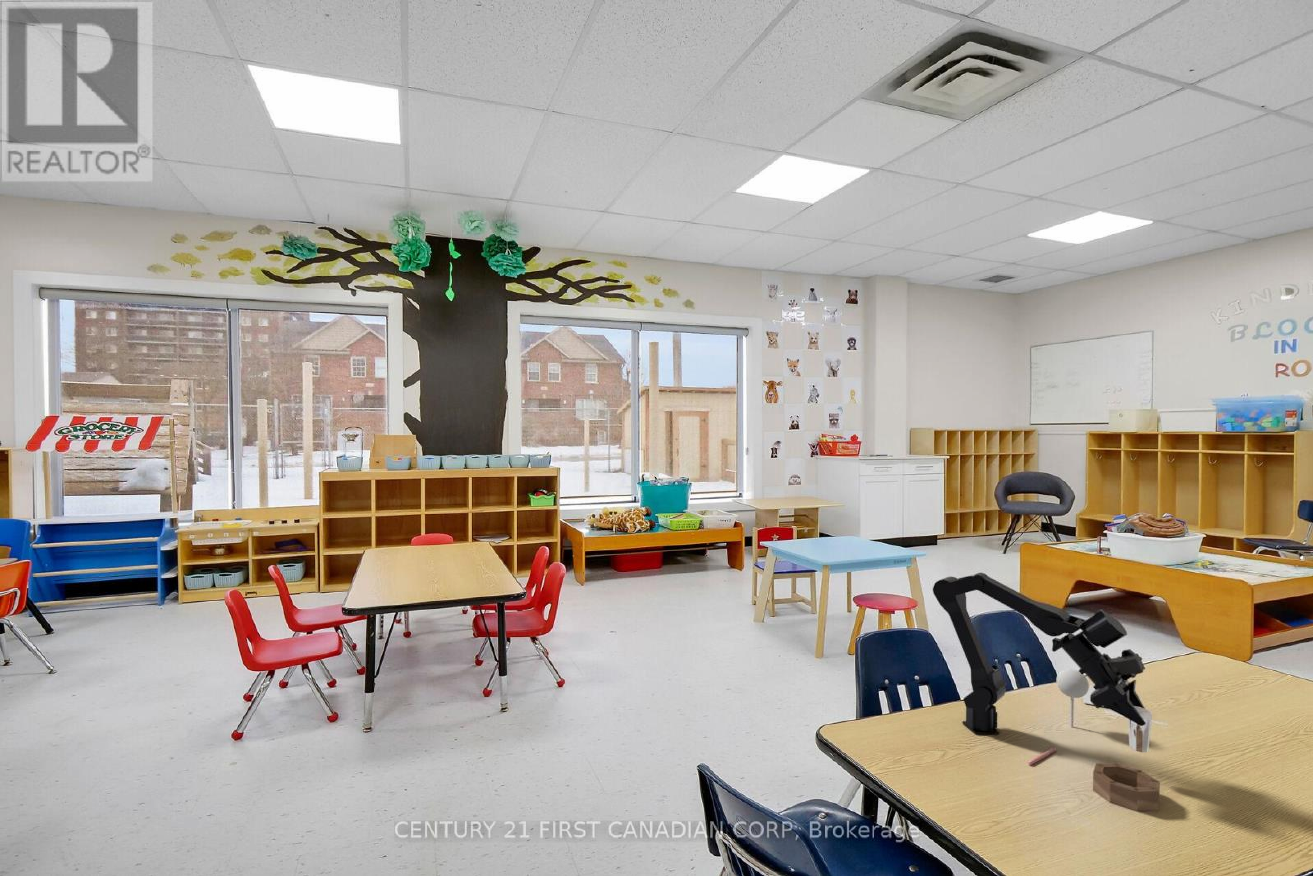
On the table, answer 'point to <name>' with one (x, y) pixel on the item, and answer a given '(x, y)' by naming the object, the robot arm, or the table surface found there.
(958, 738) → the table surface
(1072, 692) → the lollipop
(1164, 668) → the table surface
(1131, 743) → the milkshake
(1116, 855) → the table surface
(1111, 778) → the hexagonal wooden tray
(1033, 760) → the pink rod
